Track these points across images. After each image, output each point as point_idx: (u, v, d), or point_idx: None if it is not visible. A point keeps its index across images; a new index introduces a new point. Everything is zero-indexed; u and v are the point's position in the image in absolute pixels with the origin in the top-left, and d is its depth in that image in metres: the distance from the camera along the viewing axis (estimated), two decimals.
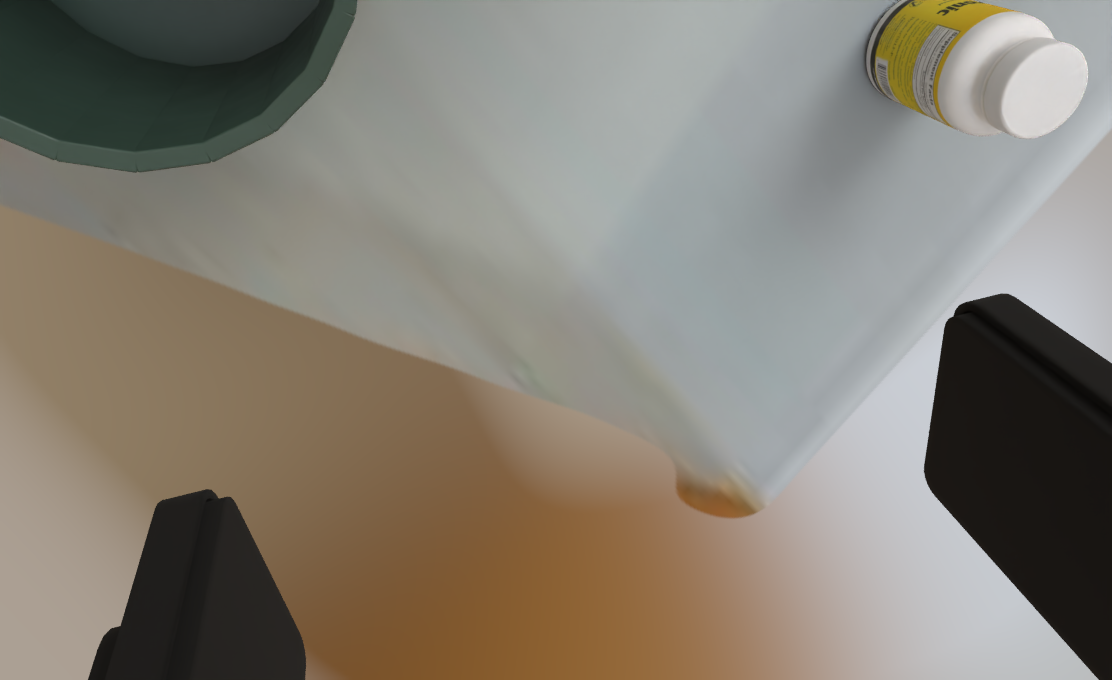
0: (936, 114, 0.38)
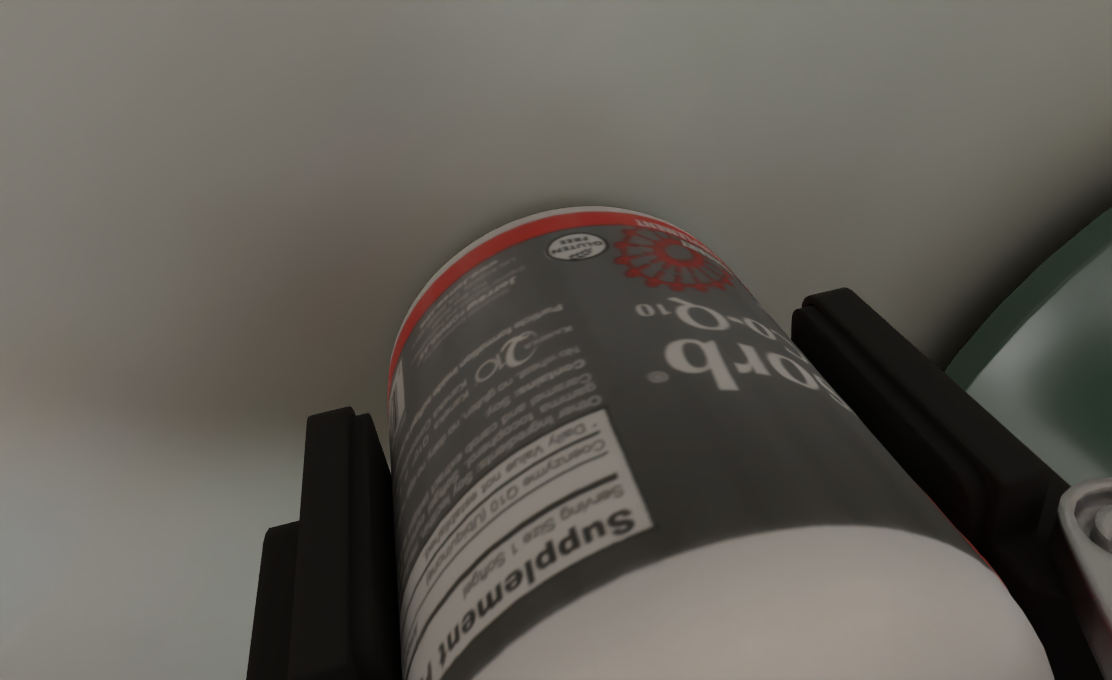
0: None
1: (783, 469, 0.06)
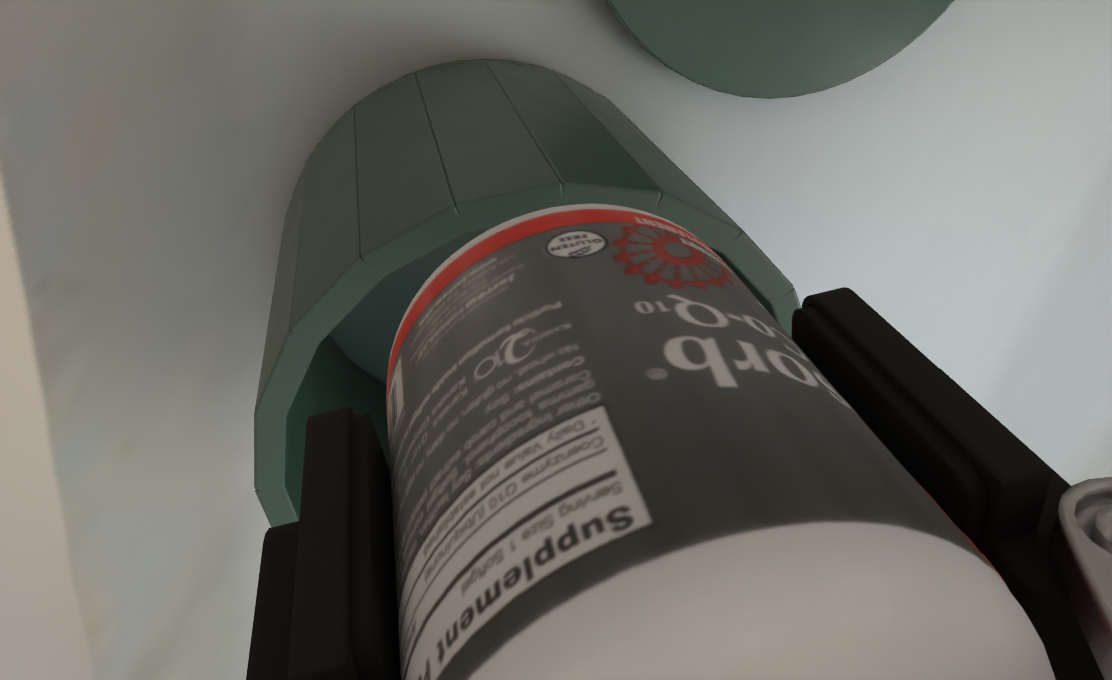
0: None
1: (782, 465, 0.06)
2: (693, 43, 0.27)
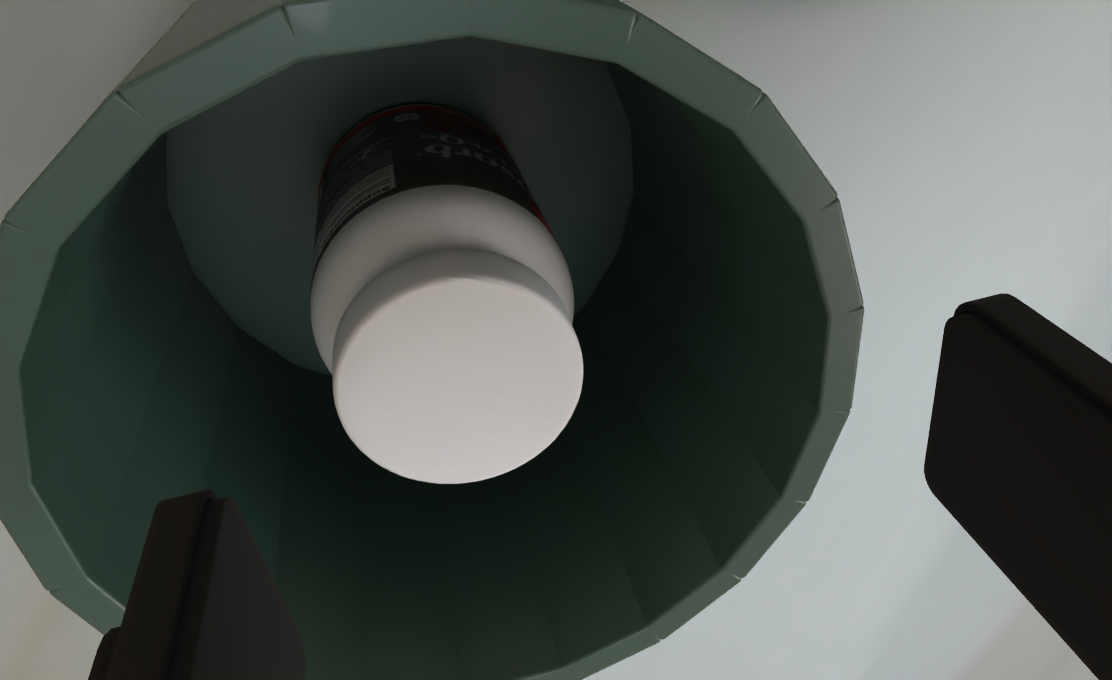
0: None
1: (451, 174, 0.17)
2: None
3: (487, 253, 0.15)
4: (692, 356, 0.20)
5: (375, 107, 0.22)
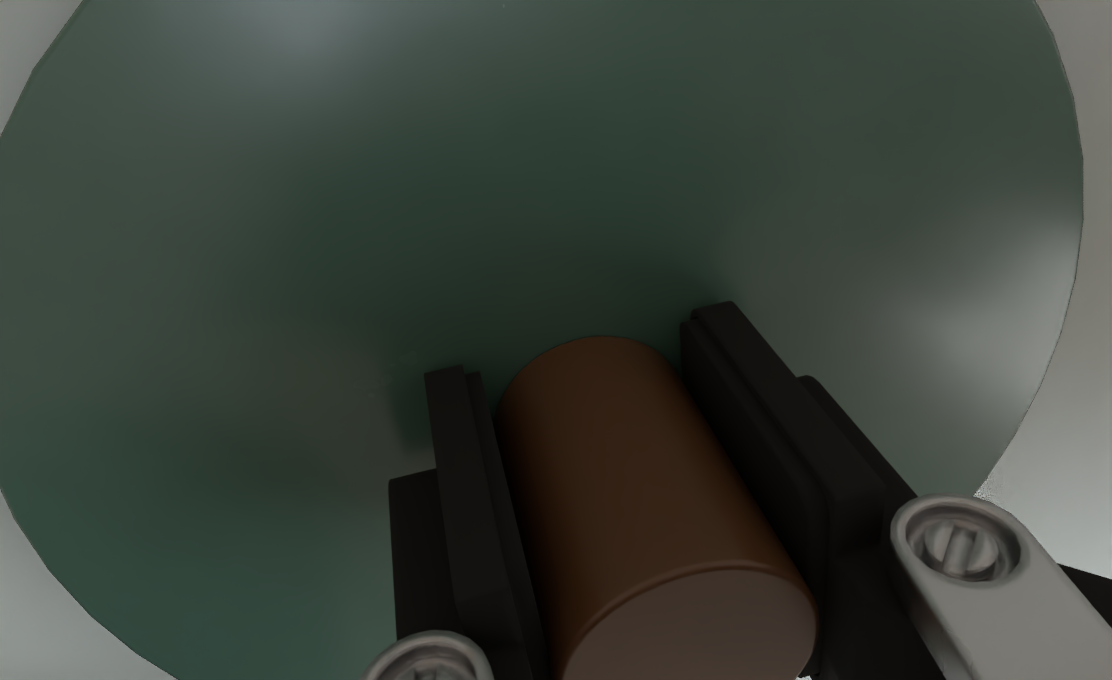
0: None
1: None
2: None
3: None
4: None
5: None
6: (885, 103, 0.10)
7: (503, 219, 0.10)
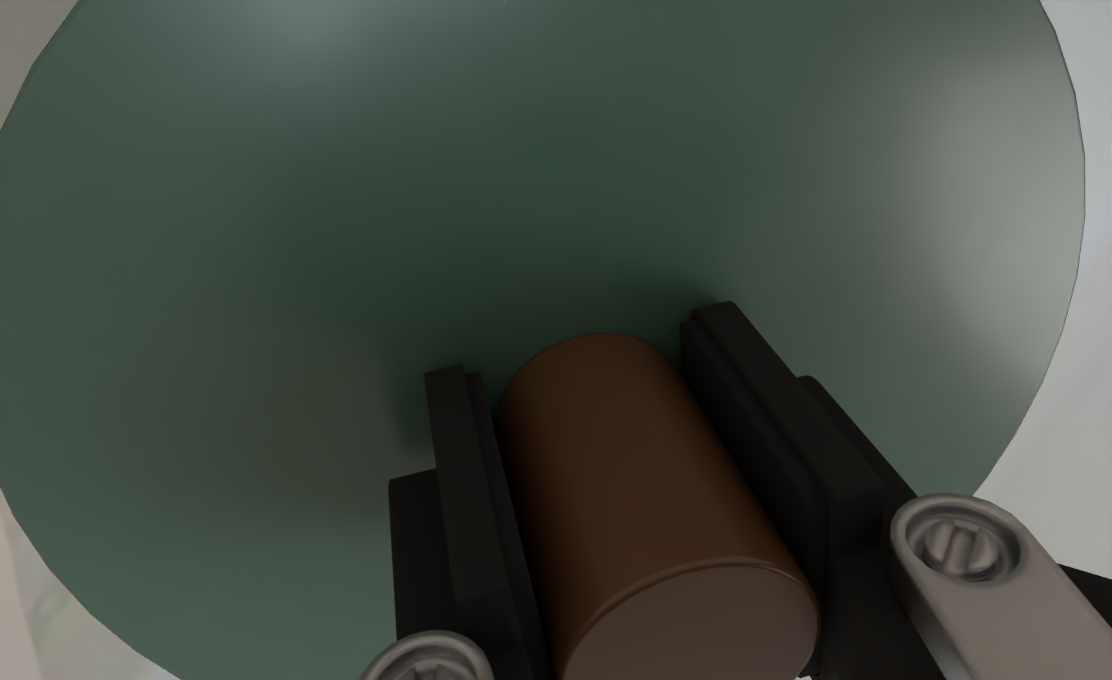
0: None
1: None
2: None
3: None
4: None
5: None
6: (887, 99, 0.10)
7: (504, 216, 0.10)
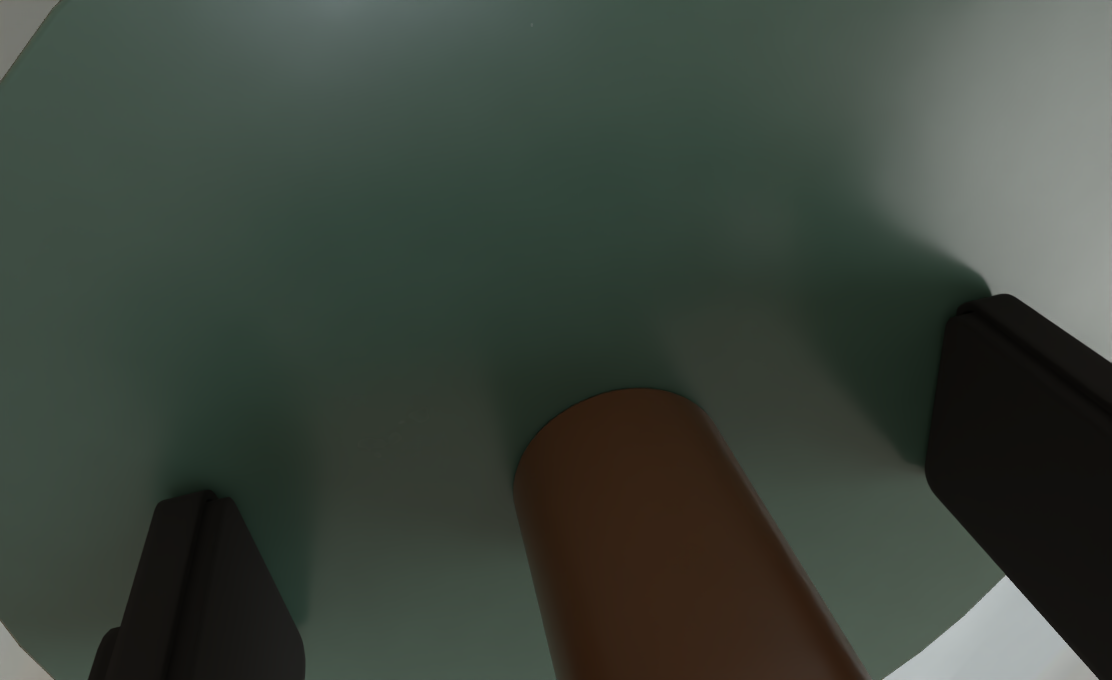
0: None
1: None
2: None
3: None
4: None
5: None
6: (957, 131, 0.09)
7: (527, 263, 0.09)
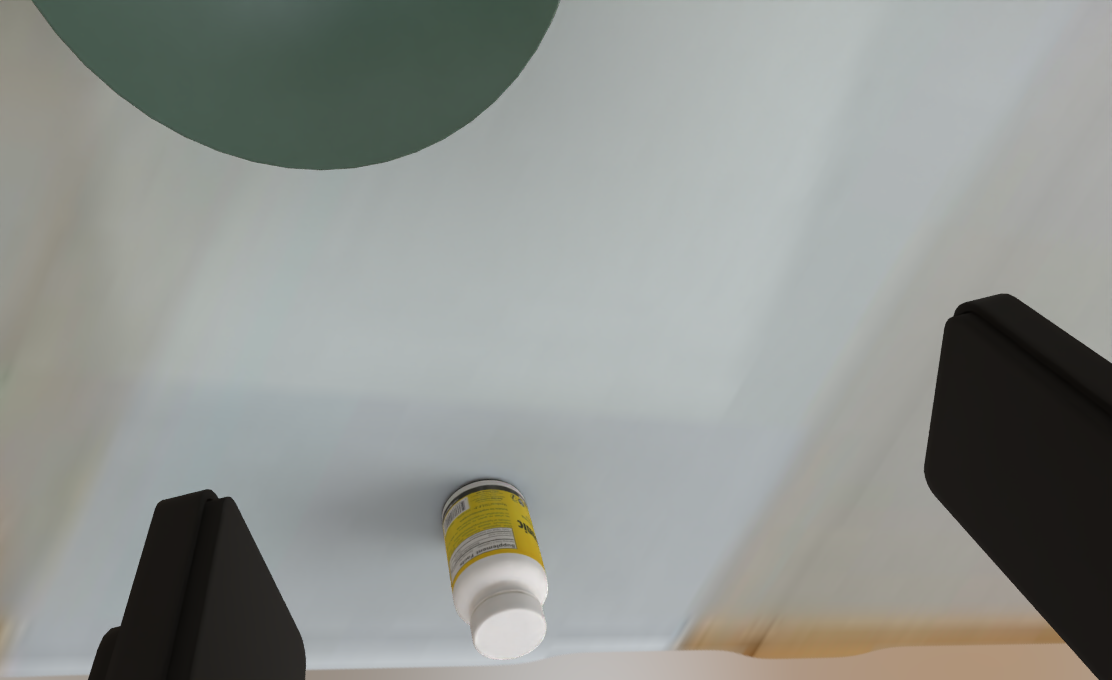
0: (455, 572, 0.45)
1: None
2: (205, 109, 0.24)
3: None
4: None
5: None
6: None
7: None
